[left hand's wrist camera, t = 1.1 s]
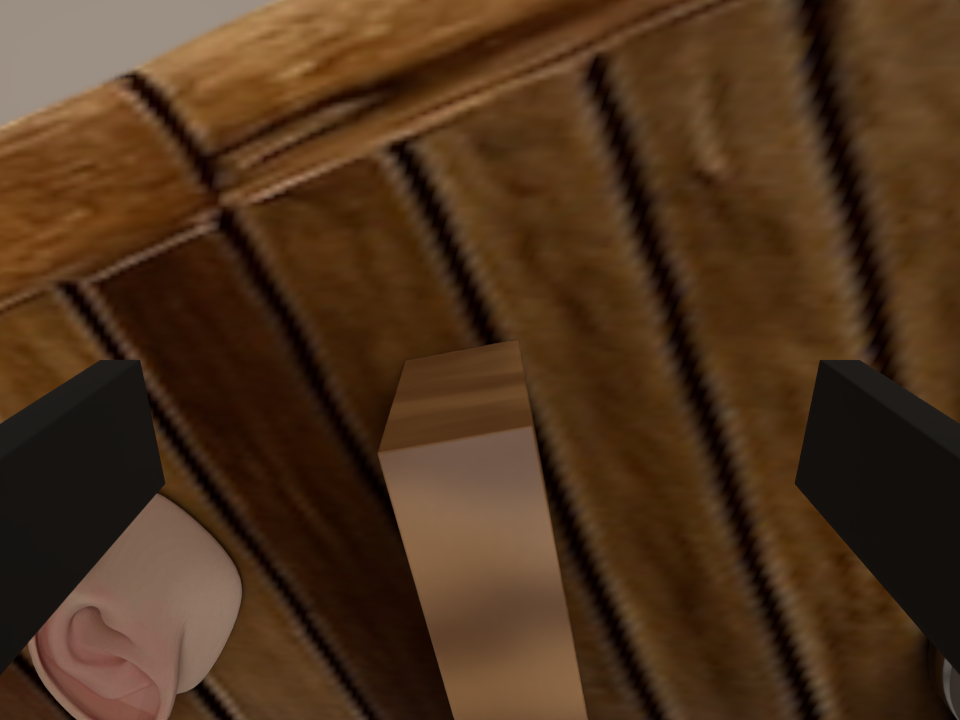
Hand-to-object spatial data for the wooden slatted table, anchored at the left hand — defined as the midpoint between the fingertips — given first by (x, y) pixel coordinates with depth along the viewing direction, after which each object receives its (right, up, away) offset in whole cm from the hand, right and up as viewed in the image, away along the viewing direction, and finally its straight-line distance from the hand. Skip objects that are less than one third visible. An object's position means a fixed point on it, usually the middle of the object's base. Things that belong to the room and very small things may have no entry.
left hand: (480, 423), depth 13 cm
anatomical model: (-19, -12, +23) cm, 32 cm away
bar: (+2, -11, +23) cm, 26 cm away
